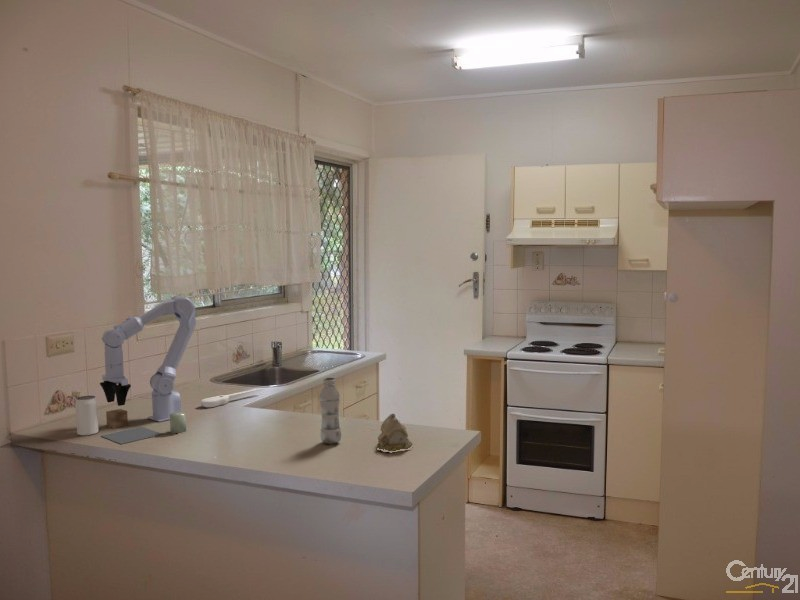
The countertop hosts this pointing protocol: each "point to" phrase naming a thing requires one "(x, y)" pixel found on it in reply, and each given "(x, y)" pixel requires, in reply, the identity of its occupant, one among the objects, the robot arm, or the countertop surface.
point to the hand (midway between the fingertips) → (116, 403)
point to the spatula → (221, 399)
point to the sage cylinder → (177, 422)
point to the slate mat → (131, 435)
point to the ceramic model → (393, 435)
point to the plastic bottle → (330, 412)
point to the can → (86, 415)
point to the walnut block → (117, 418)
